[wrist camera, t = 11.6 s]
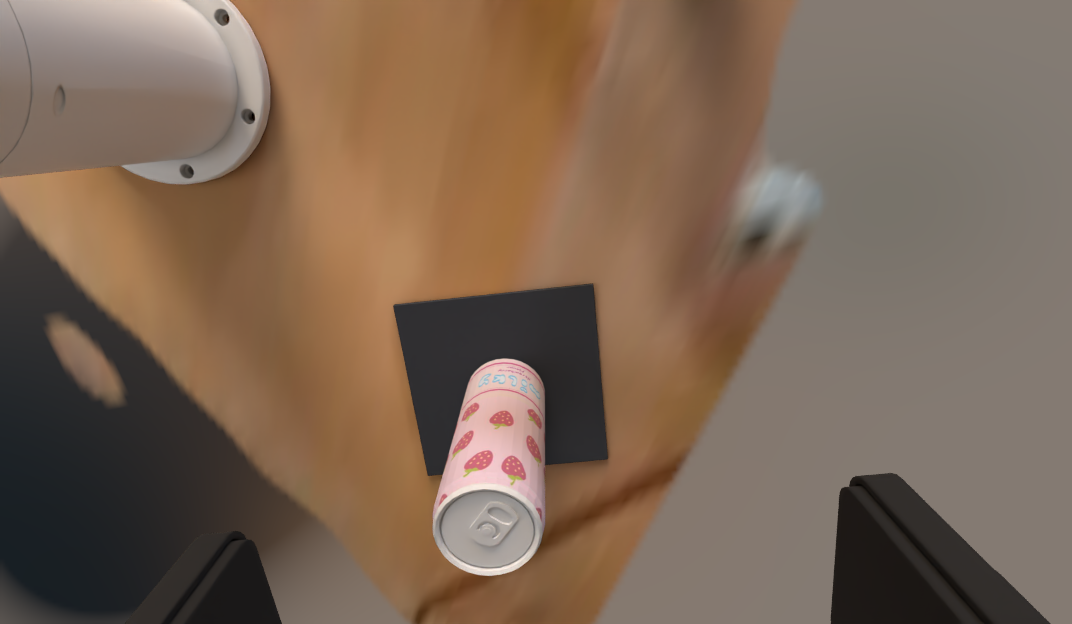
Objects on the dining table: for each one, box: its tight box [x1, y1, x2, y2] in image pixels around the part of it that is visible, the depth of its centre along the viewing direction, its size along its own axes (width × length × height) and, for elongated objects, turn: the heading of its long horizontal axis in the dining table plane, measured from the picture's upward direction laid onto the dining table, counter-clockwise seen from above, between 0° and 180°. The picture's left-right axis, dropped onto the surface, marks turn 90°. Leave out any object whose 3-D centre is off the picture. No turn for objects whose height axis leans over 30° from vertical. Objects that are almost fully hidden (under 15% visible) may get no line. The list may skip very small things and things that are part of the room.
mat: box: [393, 284, 608, 476], centre depth 41 cm, size 14×14×1 cm
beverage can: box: [433, 359, 545, 576], centre depth 34 cm, size 6×6×15 cm
